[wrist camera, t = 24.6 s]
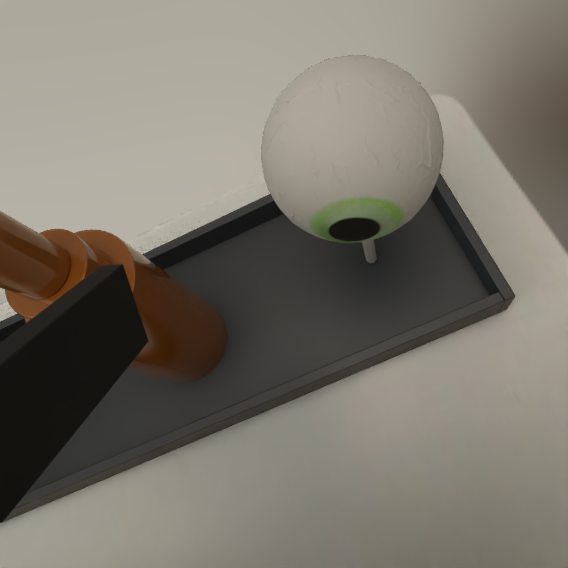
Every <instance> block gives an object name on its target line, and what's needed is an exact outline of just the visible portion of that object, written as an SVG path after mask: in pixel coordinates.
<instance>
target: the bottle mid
mask: <svg viewBox="0 0 568 568" xmlns="http://www.w3.org/2000/svg"><path fill="white" fill-rule="evenodd" d="M117 264H123V266H124V269H125V272H126V275H127V278H128V281H129V284H130V287H131V290H132V293H133V296H134V299H135V302H136V305H137V308H138V311H139V314H140V317H141V320H142V323H143V326H144V329H145V332H146V335H147V338H148V341H149V342H148V343H147V344H146V345H145V347H144V348H143V349H142V350H141V352H140V353H139V354H138V355H137V357H136V358H135V359H134V360H133V362H132V363H131V364H130V365H129V367H128V368H127V369H126V370H130V371H133V372H137V373H141V374H144V375H148V376H151V377H155V378H159V379H162V380H166V381H170V382H173V383H190V382H194V381H197V380H199V379H201V378H203V377H204V376H206V375H207V374H208V373H210V372H211V371H212V370H213V369H214V368H215V366H216V365H217V364H218V362H219V361H220V359H221V357H222V355H223V352H224V349H225V345H226V338H227V334H226V326H225V323H224V320H223V318H222V316H221V314H220V313H219V311H218V310H217V309H216V308H215V307H214V306H213V305H211V304H210V303H209V302H207V301H206V300H204V299H203V298H202V297H200V296H199V295H197V294H196V293H195V292H193V291H192V290H190V289H189V288H188V287H186V286H185V285H184V284H182V283H181V282H179V281H178V280H177V279H175V278H174V277H172V276H171V275H170V274H168V273H167V272H165V271H164V270H163V269H161V268H160V267H158V266H157V265H156V264H154V263H153V262H152V261H150V260H149V259H147V258H146V257H145V256H143V255H142V254H140V253H139V252H138V251H136V250H135V249H133V248H132V247H131V246H129V245H128V244H126V243H125V242H124V241H122V240H121V239H120V238H118V237H117V236H115V235H113V234H111V233H108V232H106V231H101V230H84V231H79V232H76V233H72V232H70V231H68V230H64V229H51V230H46V231H44V232H41V233H37V232H36V231H34V230H32V229H31V228H29V227H27V226H25V225H24V224H22V223H20V222H18V221H17V220H15V219H13V218H12V217H10V216H8V215H6V214H4V213H3V212H1V211H0V288H3V289H5V294H6V298H7V300H8V303H9V304H10V306H11V307H12V308H13V309H14V311H15V312H17V313H18V314H20V315H22V316H24V318H25V321H26V323H27V322H28V321H30V320H31V319H32V318H33V317H35V316H36V315H37V314H39V313H40V312H41V311H43V310H44V309H45V308H46V307H48V306H49V305H50V304H52V303H53V302H54V301H56V300H57V299H58V298H59V297H61V296H62V295H63V294H65V293H66V292H67V291H69V290H70V289H71V288H72V287H74V286H75V285H76V284H78V283H79V282H80V281H82V280H83V279H84V278H86V277H87V276H88V275H89V274H91V273H92V272H93V271H95V270H96V269H97V268H99V267H100V266H104V265H117Z"/></svg>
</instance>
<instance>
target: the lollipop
mask: <svg viewBox="0 0 568 568" xmlns="http://www.w3.org/2000/svg"><path fill="white" fill-rule="evenodd" d="M443 143H444V141H443V132H442V127H441V123H440V119H439V115H438V112H437V110H436V107H435V105H434V103H433V102H432V100H431V98H430V96H429V95H428V93H427V91H426V90H425V89H424V88H423V87H422V86H421V83H420V82H418V81H417V80H416V79H415V78H414V77H413V76H412V75H411V74H409V73H408V72H406V71H405V70H403V69H401V68H400V67H398V66H397V65H395V64H393V63H390V62H388V61H386V60H384V59H380V58H375V57H370V56H366V55H349V56H341V57H336V58H332V59H327V60H324V61H322V62H320V63H318V64H316V65H314V66H311V67H310V68H308V69H307V70H305V71H304V72H302V73H301V74H300V75H299V76H297V77H296V78H295V79H294V80H293V81H292V82H291V83H289V84H288V86H287V87H286V88H285V89H284V90H283V91H282V93H281V94H280V95H279V97H278V98H277V100H276V102H275V103H274V105H273V107H272V109H271V111H270V114H269V116H268V119H267V121H266V124H265V128H264V132H263V138H262V146H261V160H262V168H263V173H264V177H265V181H266V184H267V187H268V190H269V192H270V194H271V196H272V198H273V199H274V201H275V203H276V204H277V206H278V207H279V208H280V210H281V211H282V212H283V213H284V214H285V215H286V216H287V217H288V219H289V220H290V221H291V222H292V223H293V224H295V225H297V226H298V227H300V228H301V229H303V230H304V231H306V232H308V233H310V234H312V235H314V236H316V237H319V238H322V239H325V240H329V241H334V242H341V243H355V242H362V244H363V249H364V253H365V257H366V261H367V262H369V263H375V261H376V260H377V257H376V251H375V245H374V240H373V239H377V238H380V237H382V236H385V235H387V234H389V233H391V232H393V231H395V230H396V229H398V228H400V227H401V226H403V225H404V224H405V223H407V222H409V221H410V220H411V219H412V218H413V217H414V216H415V215H416V214H417V212H418V211H419V210H420V209H421V207H422V206H423V205H424V204H425V202H426V201H427V199H428V198H429V196H430V195H431V192H432V190H433V188H434V186H435V184H436V181H437V178H438V176H439V173H440V169H441V164H442V159H443Z"/></svg>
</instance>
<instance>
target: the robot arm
mask: <svg viewBox="0 0 568 568" xmlns="http://www.w3.org/2000/svg"><path fill="white" fill-rule="evenodd" d="M148 342H149V341H148V338H147V335H146V332H145V329H144V326H143V323H142V320H141V317H140V314H139V311H138V308H137V305H136V302H135V299H134V296H133V293H132V290H131V287H130V284H129V281H128V278H127V275H126V272H125V269H124V266H123V264H117V265H104V266H100V267H99V268H97V269H96V270H95V271H93V272H92V273H91V274H89V275H88V276H87V277H86V278H84V279H83V280H82V281H80V282H79V283H78V284H76V285H75V286H74V287H72V288H71V289H70V290H69V291H67V292H66V293H65V294H63V295H62V296H61V297H59V298H58V299H57V300H56V301H54V302H53V303H52V304H50V305H49V306H48V307H46V308H45V309H44V310H43V311H41V312H40V313H39V314H37V315H36V316H35V317H33V318H32V319H31V320H30V321H28V322H27V323H26V324H24V325H23V326H22V327H20V328H19V329H18V330H17V331H15V332H14V333H13V334H11V335H10V336H9V337H7V338H6V339H5V340H4V341H2V342H1V343H0V522H3V521H4V520H5V519H6V518H7V516H8V515H9V514H10V513H11V511H12V510H13V509H14V508H15V507H16V505H17V504H18V503H19V502H20V500H21V499H22V498H23V497H24V495H25V494H26V493H27V492H28V490H29V489H30V488H31V487H32V485H33V484H34V483H35V482H36V481H37V479H38V478H39V477H40V476H41V474H42V473H43V472H44V471H45V469H46V468H47V467H48V466H49V464H50V463H51V462H52V461H53V459H54V458H55V457H56V456H57V454H58V453H59V452H60V451H61V450H62V448H63V447H64V446H65V445H66V443H67V442H68V441H69V440H70V438H71V437H72V436H73V435H74V433H75V432H76V431H77V430H78V428H79V427H80V426H81V425H82V424H83V422H84V421H85V420H86V419H87V417H88V416H89V415H90V414H91V412H92V411H93V410H94V409H95V407H96V406H97V405H98V404H99V402H100V401H101V400H102V399H103V397H104V396H105V395H106V394H107V393H108V391H109V390H110V389H111V388H112V386H113V385H114V384H115V383H116V381H117V380H118V379H119V378H120V376H121V375H122V374H123V373H124V371H125V370H126V369H127V368H128V367H129V365H130V364H131V363H132V362H133V360H134V359H135V358H136V357H137V355H138V354H139V353H140V352H141V350H142V349H143V348H144V347H145V345H146V344H147V343H148Z"/></svg>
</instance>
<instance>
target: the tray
mask: <svg viewBox="0 0 568 568" xmlns="http://www.w3.org/2000/svg"><path fill="white" fill-rule="evenodd" d="M373 240H374V245H375V251H376V257H377V260H376V261H375V263H369V262H367V261H366V257H365V253H364V249H363V244H362V242H355V243H341V242H334V241H329V240H325V239H322V238H319V237H316V236H314V235H312V234H310V233H308V232H306V231H304V230H303V229H301V228H300V227H298V226H297V225H295V224H293V223H292V222H291V221H290V220H289V219H288V217H287V216H286V215H285V214H284V213H283V212H282V211H281V210H280V208H279V207H278V206H277V204H276V203H275V201H274V199H273V198H272V196H271V194H269V195H267V196H265V197H263V198H261V199H259V200H257V201H255V202H252V203H250V204H248V205H246V206H244V207H242V208H240V209H238V210H235V211H233V212H231V213H229V214H227V215H225V216H223V217H221V218H219V219H216V220H214V221H212V222H210V223H208V224H206V225H204V226H202V227H200V228H197V229H195V230H193V231H191V232H189V233H187V234H185V235H183V236H181V237H178V238H176V239H174V240H172V241H170V242H168V243H166V244H164V245H161V246H159V247H157V248H155V249H153V250H151V251H149V252H147V253H145V254H142V255H143V256H145V257H146V258H147V259H149V260H150V261H152V262H153V263H154V264H156V265H157V266H158V267H160V268H161V269H163V270H164V271H165V272H167V273H168V274H170V275H171V276H172V277H174V278H175V279H177V280H178V281H179V282H181V283H182V284H184V285H185V286H186V287H188V288H189V289H190V290H192V291H193V292H195V293H196V294H197V295H199V296H200V297H202V298H203V299H204V300H206V301H207V302H209V303H210V304H211V305H213V306H214V307H215V308H216V309H217V310H218V311H219V313H220V314H221V316H222V318H223V320H224V323H225V326H226V334H227V338H226V345H225V349H224V352H223V355H222V357H221V359H220V361H219V362H218V364H217V365H216V366H215V368H214V369H213V370H212V371H211V372H210V373H208V374H207V375H206V376H204V377H203V378H201V379H199V380H197V381H194V382H190V383H173V382H170V381H166V380H162V379H159V378H155V377H151V376H148V375H144V374H141V373H137V372H133V371H130V370H125V371H124V373H123V374H122V375H121V376H120V378H119V379H118V380H117V381H116V383H115V384H114V385H113V386H112V388H111V389H110V390H109V391H108V393H107V394H106V395H105V396H104V397H103V399H102V400H101V401H100V402H99V404H98V405H97V406H96V407H95V409H94V410H93V411H92V412H91V414H90V415H89V416H88V417H87V419H86V420H85V421H84V422H83V424H82V425H81V426H80V427H79V428H78V430H77V431H76V432H75V433H74V435H73V436H72V437H71V438H70V440H69V441H68V442H67V443H66V445H65V446H64V447H63V448H62V450H61V451H60V452H59V453H58V454H57V456H56V457H55V458H54V459H53V461H52V462H51V463H50V464H49V466H48V467H47V468H46V469H45V471H44V472H43V473H42V474H41V476H40V477H39V478H38V479H37V481H36V482H35V483H34V484H33V485H32V487H31V488H30V489H29V490H28V492H27V493H26V494H25V495H24V497H23V498H22V499H21V500H20V502H19V503H18V504H17V505H16V507H15V508H14V509H13V510H12V511H11V513H10V514H9V515H8V516H7V518H6V519H5V520H4V521H6V520H9V519H11V518H13V517H16V516H18V515H21V514H23V513H25V512H28V511H30V510H32V509H35V508H37V507H39V506H42V505H44V504H47V503H49V502H51V501H54V500H56V499H58V498H61V497H63V496H66V495H68V494H70V493H73V492H75V491H77V490H80V489H82V488H85V487H87V486H89V485H92V484H94V483H96V482H99V481H101V480H104V479H106V478H108V477H111V476H113V475H115V474H118V473H120V472H122V471H125V470H127V469H130V468H132V467H134V466H137V465H139V464H141V463H144V462H146V461H149V460H151V459H153V458H156V457H158V456H160V455H163V454H165V453H168V452H170V451H172V450H175V449H177V448H179V447H182V446H184V445H186V444H189V443H191V442H194V441H196V440H198V439H201V438H203V437H205V436H208V435H210V434H213V433H215V432H217V431H220V430H222V429H224V428H227V427H229V426H232V425H234V424H236V423H239V422H241V421H243V420H246V419H248V418H251V417H253V416H255V415H258V414H260V413H262V412H265V411H267V410H269V409H272V408H274V407H277V406H279V405H281V404H284V403H286V402H288V401H291V400H293V399H296V398H298V397H300V396H303V395H305V394H307V393H310V392H312V391H315V390H317V389H319V388H322V387H324V386H326V385H329V384H331V383H333V382H336V381H338V380H341V379H343V378H345V377H348V376H350V375H352V374H355V373H357V372H360V371H362V370H364V369H367V368H369V367H371V366H374V365H376V364H379V363H381V362H383V361H386V360H388V359H390V358H393V357H395V356H398V355H400V354H402V353H405V352H407V351H409V350H412V349H414V348H416V347H419V346H421V345H424V344H426V343H428V342H431V341H433V340H435V339H438V338H440V337H443V336H445V335H447V334H450V333H452V332H454V331H457V330H459V329H462V328H464V327H466V326H469V325H471V324H473V323H476V322H478V321H480V320H483V319H485V318H488V317H490V316H492V315H495V314H497V313H499V312H502V311H504V310H506V309H507V308H508V306H509V305H510V303H511V302H512V301H513V299H514V298H515V294H514V293H513V291H512V289H511V288H510V286H509V285H508V283H507V281H506V280H505V278H504V276H503V275H502V273H501V272H500V270H499V268H498V267H497V265H496V263H495V262H494V260H493V259H492V257H491V255H490V254H489V252H488V250H487V249H486V247H485V246H484V244H483V242H482V241H481V239H480V237H479V236H478V234H477V233H476V231H475V229H474V228H473V226H472V224H471V223H470V221H469V220H468V218H467V216H466V215H465V213H464V211H463V210H462V208H461V207H460V205H459V203H458V202H457V200H456V198H455V197H454V195H453V194H452V192H451V190H450V189H449V187H448V185H447V184H446V182H445V181H444V179H443V177H442V176H441V174H440V173H439V176H438V178H437V181H436V184H435V186H434V188H433V190H432V192H431V195H430V196H429V198H428V199H427V201H426V202H425V204H424V205H423V206H422V207H421V209H420V210H419V211H418V212H417V214H416V215H415V216H414V217H413V218H412V219H411V220H410V221H409V222H407V223H405V224H404V225H403V226H401V227H400V228H398V229H396V230H395V231H393V232H391V233H389V234H387V235H385V236H382V237H380V238H377V239H373ZM24 324H26V321H25V318H24V316H22V315H20V314H16V315H14V316H11V317H9V318H7V319H5V320H3V321H1V322H0V343H1V342H2V341H4V340H5V339H6V338H7V337H9V336H10V335H11V334H13V333H14V332H15V331H17V330H18V329H19V328H20V327H22V326H23V325H24ZM4 521H3V522H4ZM0 523H2V522H0Z"/></svg>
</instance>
